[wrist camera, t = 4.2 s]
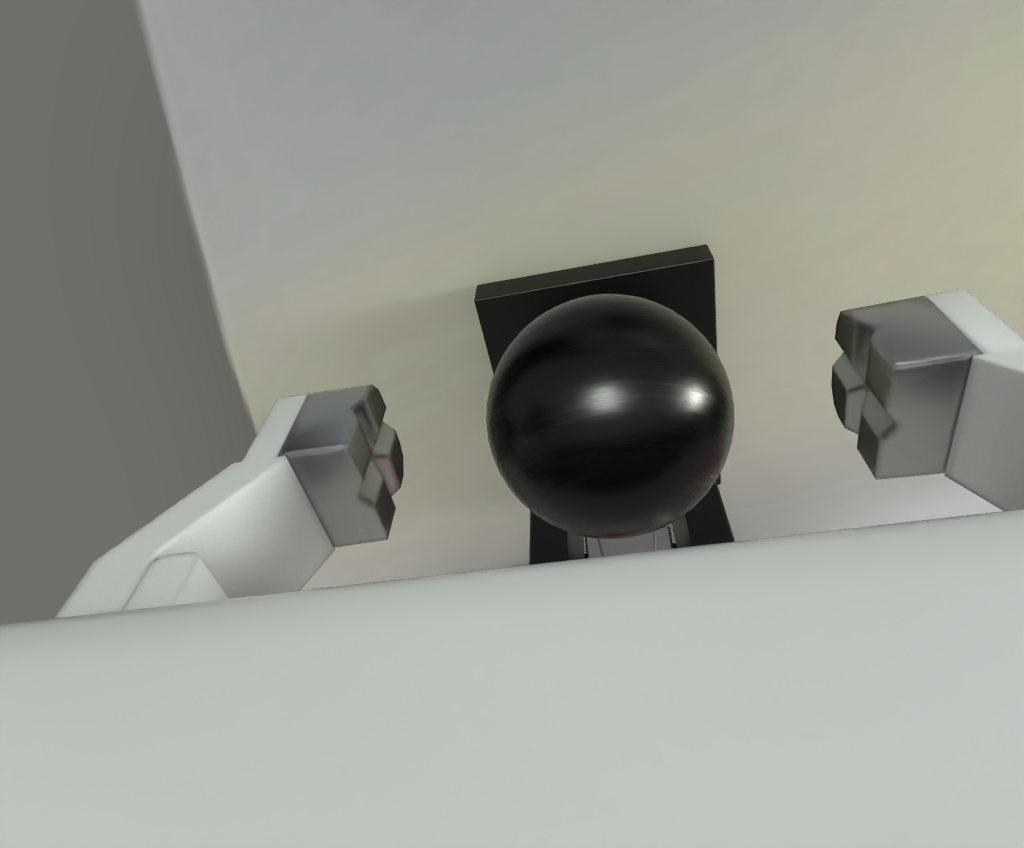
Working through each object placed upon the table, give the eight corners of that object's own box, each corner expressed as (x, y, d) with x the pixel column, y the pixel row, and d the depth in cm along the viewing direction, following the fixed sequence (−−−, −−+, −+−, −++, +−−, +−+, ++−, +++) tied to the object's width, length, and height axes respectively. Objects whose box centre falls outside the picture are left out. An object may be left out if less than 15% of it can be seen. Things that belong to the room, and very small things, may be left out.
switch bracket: (476, 284, 24) (434, 526, 14) (707, 243, 23) (826, 477, 13) (529, 489, 30) (524, 756, 20) (715, 465, 28) (801, 737, 19)
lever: (455, 265, 9) (460, 501, 7) (714, 218, 8) (780, 459, 7) (572, 550, 20) (584, 667, 19) (686, 537, 20) (708, 657, 18)
